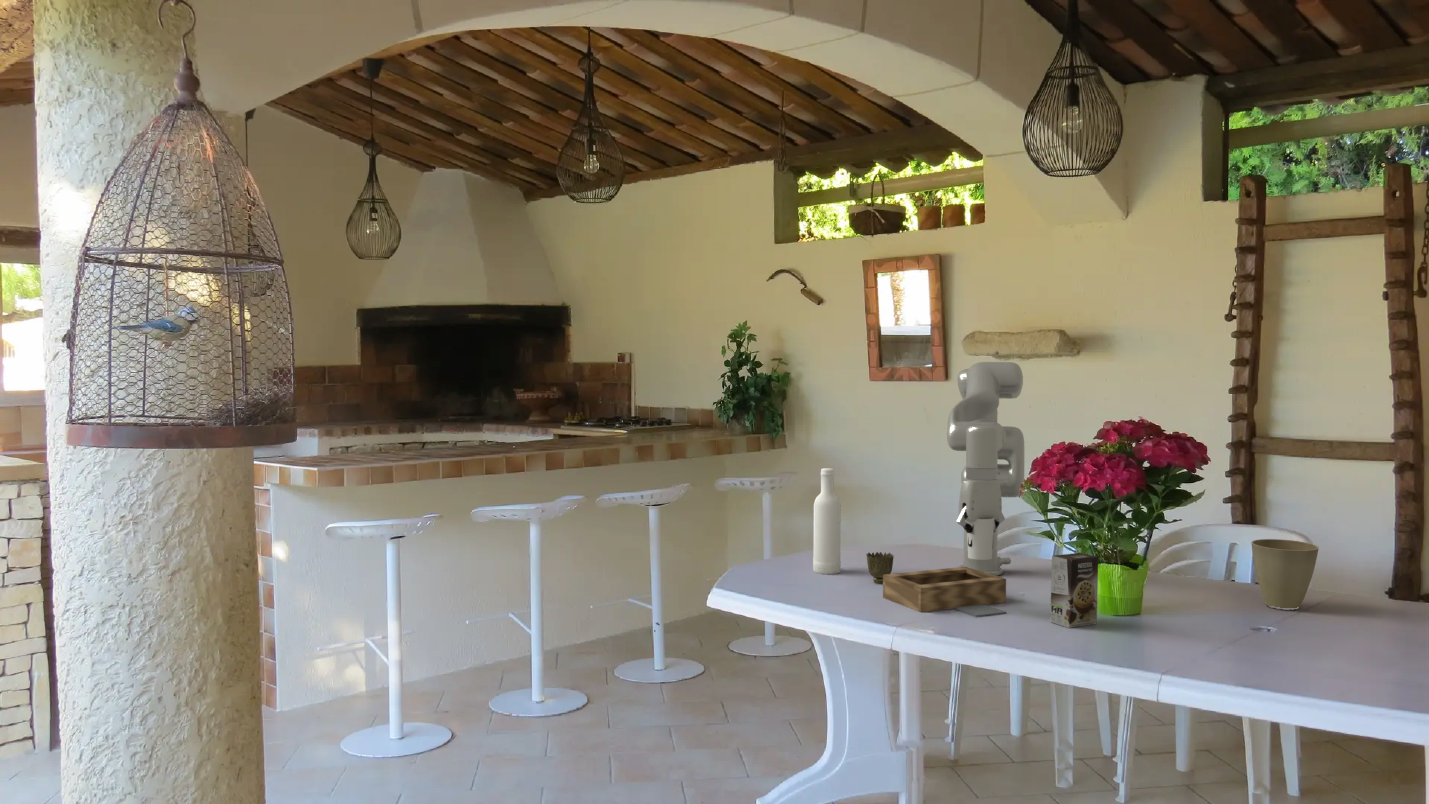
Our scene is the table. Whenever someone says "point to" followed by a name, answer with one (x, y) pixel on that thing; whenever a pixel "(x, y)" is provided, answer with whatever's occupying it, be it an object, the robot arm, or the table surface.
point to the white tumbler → (981, 539)
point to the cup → (879, 565)
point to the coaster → (979, 610)
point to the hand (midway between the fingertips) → (980, 548)
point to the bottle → (827, 527)
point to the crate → (943, 588)
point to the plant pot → (1284, 570)
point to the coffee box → (1074, 590)
